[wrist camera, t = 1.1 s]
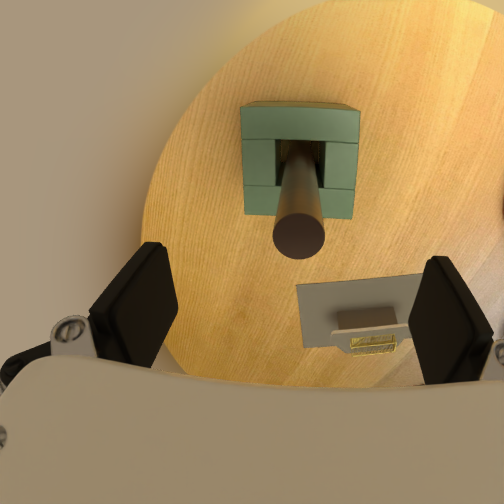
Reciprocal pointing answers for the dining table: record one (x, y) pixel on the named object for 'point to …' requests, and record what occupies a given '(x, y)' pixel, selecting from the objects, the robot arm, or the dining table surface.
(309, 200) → the stick
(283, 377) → the dining table surface
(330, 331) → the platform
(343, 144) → the stand
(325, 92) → the dining table surface
